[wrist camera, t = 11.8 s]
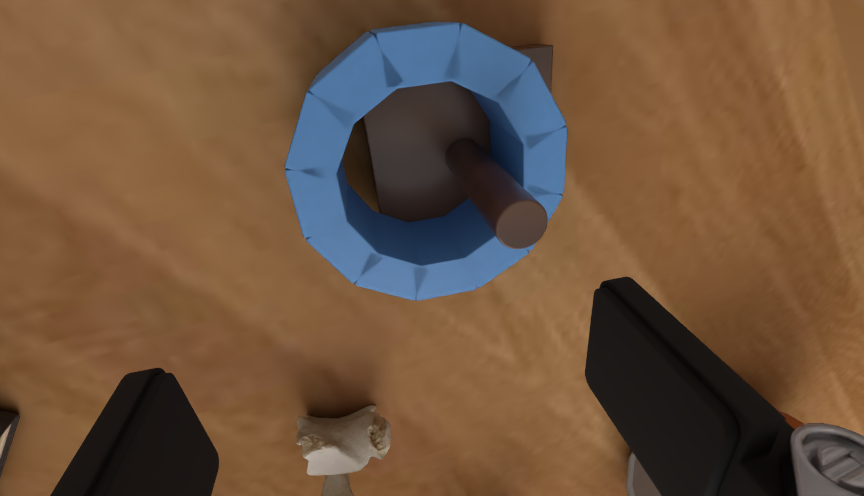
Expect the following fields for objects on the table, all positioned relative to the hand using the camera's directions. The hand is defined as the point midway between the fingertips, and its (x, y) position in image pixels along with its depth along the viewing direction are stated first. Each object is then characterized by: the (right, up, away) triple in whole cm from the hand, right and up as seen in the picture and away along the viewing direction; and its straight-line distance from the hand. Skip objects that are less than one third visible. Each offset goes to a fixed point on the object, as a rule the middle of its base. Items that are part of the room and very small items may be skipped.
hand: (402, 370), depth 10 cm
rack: (+2, +8, +15) cm, 17 cm away
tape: (0, +8, +13) cm, 15 cm away
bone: (-7, -11, +24) cm, 27 cm away
